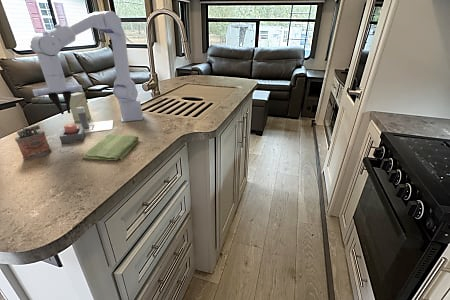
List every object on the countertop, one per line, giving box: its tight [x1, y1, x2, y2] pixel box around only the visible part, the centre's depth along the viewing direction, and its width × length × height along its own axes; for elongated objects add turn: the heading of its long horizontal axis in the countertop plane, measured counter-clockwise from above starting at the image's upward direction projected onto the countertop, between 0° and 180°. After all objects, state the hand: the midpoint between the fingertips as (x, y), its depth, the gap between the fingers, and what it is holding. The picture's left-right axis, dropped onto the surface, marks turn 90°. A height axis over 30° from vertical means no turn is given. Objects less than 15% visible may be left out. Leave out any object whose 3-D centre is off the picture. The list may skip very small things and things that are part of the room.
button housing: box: [59, 127, 86, 145], centre depth 92 cm, size 7×7×3 cm
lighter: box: [14, 124, 52, 162], centre depth 78 cm, size 8×3×10 cm, turn 148°
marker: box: [76, 107, 89, 129], centre depth 99 cm, size 3×3×9 cm
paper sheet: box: [76, 119, 114, 134], centre depth 103 cm, size 17×12×1 cm
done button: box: [63, 123, 78, 134], centre depth 90 cm, size 4×4×2 cm
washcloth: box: [82, 133, 140, 161], centre depth 83 cm, size 13×18×3 cm
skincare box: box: [70, 91, 92, 122], centre depth 110 cm, size 6×4×12 cm
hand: (66, 113), depth 88 cm, fingers closed
